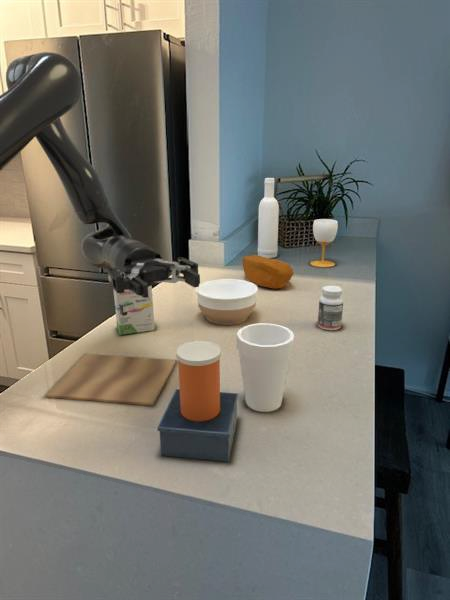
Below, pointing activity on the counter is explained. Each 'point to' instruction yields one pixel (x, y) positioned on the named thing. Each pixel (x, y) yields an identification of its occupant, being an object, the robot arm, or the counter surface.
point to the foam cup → (264, 363)
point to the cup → (324, 238)
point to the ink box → (134, 312)
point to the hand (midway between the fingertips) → (172, 286)
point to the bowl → (226, 300)
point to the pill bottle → (330, 308)
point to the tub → (199, 380)
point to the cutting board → (114, 379)
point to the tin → (199, 431)
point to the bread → (266, 271)
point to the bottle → (268, 222)
